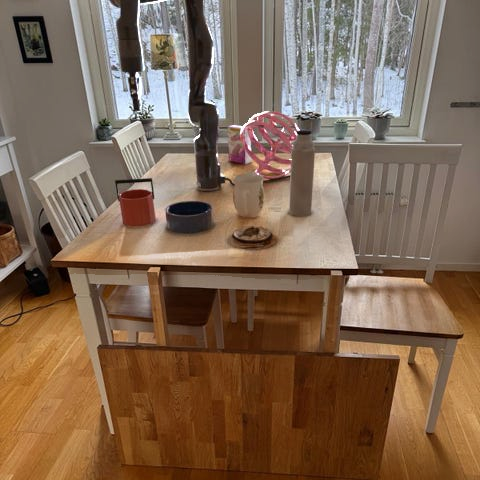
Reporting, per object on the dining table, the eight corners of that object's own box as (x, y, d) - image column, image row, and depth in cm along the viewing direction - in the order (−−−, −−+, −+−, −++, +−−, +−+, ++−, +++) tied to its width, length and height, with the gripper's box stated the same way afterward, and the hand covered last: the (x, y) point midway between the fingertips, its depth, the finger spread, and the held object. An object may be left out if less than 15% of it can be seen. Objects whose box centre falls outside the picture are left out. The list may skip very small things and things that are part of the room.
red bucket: (123, 217, 170) (116, 175, 162) (157, 215, 171) (152, 173, 163) (120, 229, 160) (113, 185, 152) (156, 226, 162) (151, 182, 153)
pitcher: (228, 224, 162) (227, 184, 154) (237, 207, 177) (236, 170, 169) (260, 226, 160) (260, 185, 153) (266, 208, 175) (267, 170, 168)
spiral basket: (255, 141, 182) (291, 91, 188) (214, 147, 204) (248, 103, 210) (292, 192, 199) (324, 145, 205) (251, 193, 220) (281, 150, 226)
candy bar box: (228, 161, 235) (226, 126, 226) (234, 159, 238) (233, 124, 229) (245, 164, 229) (244, 128, 220) (251, 162, 232) (251, 127, 223)
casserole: (202, 215, 170) (201, 198, 166) (220, 229, 158) (219, 211, 154) (161, 223, 164) (159, 205, 161) (176, 238, 152) (174, 219, 149)
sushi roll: (244, 253, 141) (243, 240, 139) (221, 237, 152) (220, 225, 150) (285, 242, 147) (285, 230, 145) (260, 228, 158) (260, 216, 156)
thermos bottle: (292, 207, 175) (295, 127, 160) (313, 209, 173) (318, 128, 158) (286, 215, 169) (289, 132, 153) (308, 217, 166) (313, 133, 151)
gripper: (141, 56, 148) (147, 111, 157) (143, 53, 160) (149, 105, 169) (117, 57, 148) (125, 112, 157) (121, 54, 160) (128, 106, 168)
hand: (137, 108), depth 163 cm, fingers open, 8 cm apart
